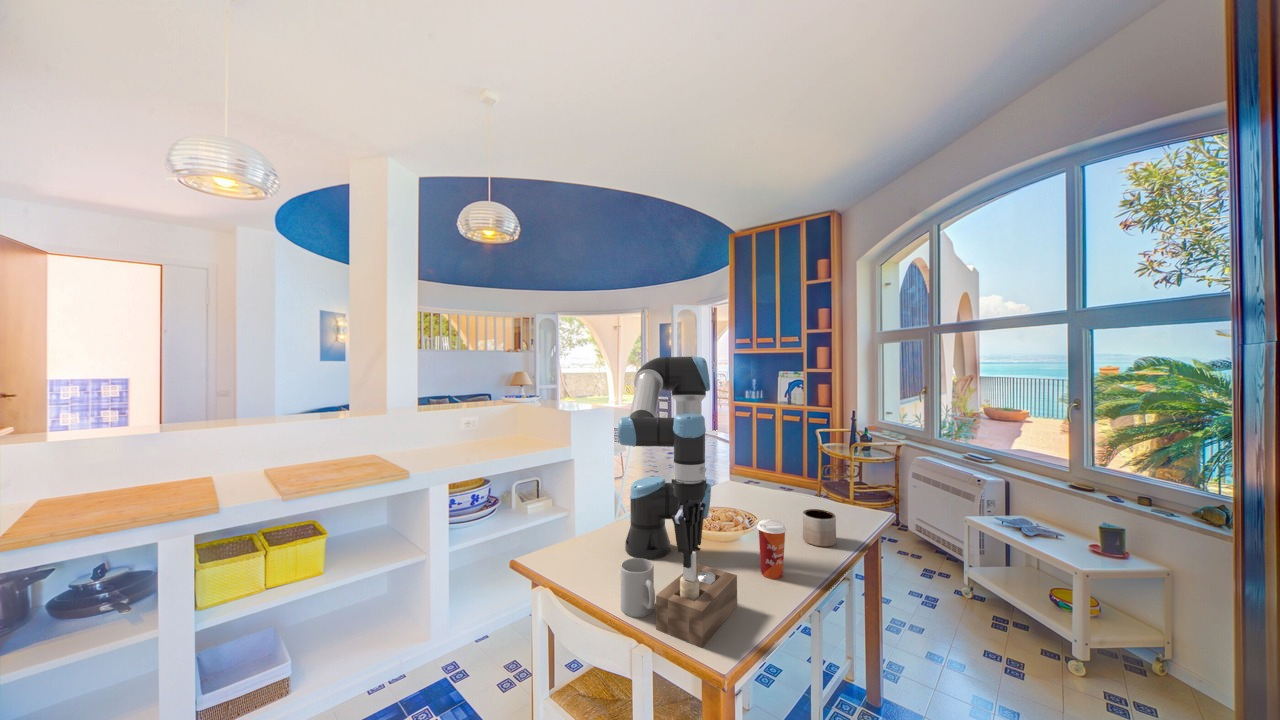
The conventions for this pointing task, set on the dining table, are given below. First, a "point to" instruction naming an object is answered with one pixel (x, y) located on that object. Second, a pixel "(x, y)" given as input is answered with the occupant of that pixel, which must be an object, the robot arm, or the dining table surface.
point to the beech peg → (689, 589)
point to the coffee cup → (771, 547)
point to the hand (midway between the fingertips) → (689, 579)
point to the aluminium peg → (706, 577)
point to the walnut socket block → (697, 607)
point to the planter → (819, 527)
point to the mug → (637, 587)
